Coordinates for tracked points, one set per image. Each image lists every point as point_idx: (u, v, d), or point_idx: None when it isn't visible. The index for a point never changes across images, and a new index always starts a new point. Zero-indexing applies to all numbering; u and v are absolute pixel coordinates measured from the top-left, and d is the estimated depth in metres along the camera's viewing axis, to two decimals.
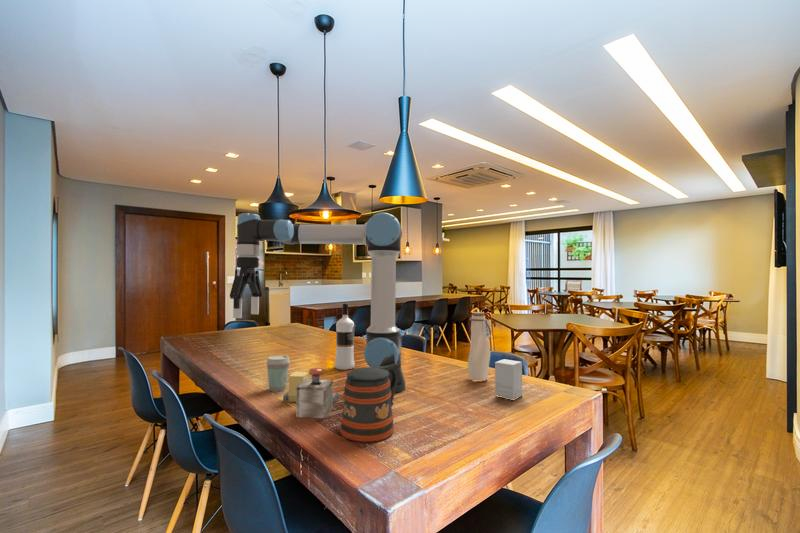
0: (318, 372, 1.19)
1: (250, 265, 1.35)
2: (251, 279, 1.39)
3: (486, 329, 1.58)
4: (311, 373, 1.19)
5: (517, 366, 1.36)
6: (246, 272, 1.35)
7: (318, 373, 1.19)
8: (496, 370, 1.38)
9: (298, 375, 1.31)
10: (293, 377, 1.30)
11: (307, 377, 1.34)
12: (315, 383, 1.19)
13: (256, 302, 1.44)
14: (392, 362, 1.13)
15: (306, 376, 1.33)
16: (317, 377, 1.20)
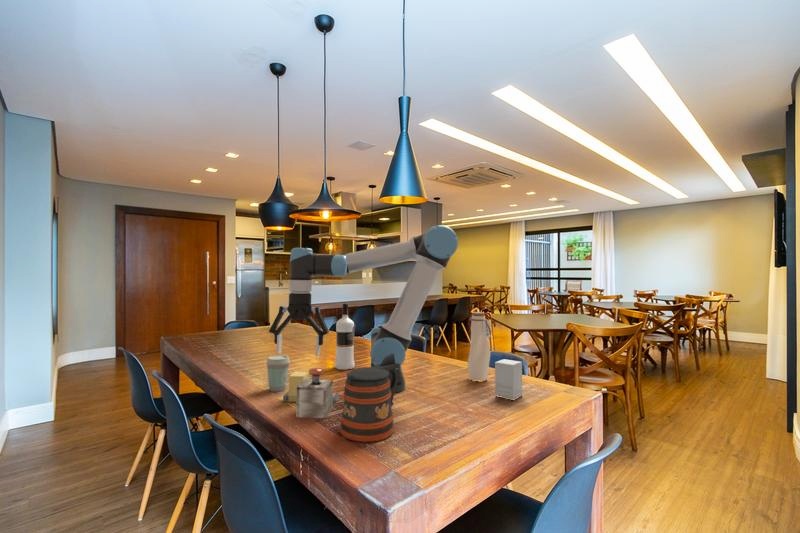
0: (318, 372, 1.19)
1: (289, 301, 1.31)
2: (301, 316, 1.32)
3: (486, 329, 1.58)
4: (311, 373, 1.19)
5: (517, 366, 1.36)
6: (289, 308, 1.32)
7: (318, 373, 1.19)
8: (496, 370, 1.38)
9: (298, 375, 1.31)
10: (293, 377, 1.30)
11: (307, 377, 1.34)
12: (315, 383, 1.19)
13: None
14: (392, 362, 1.13)
15: (306, 376, 1.33)
16: (317, 377, 1.20)
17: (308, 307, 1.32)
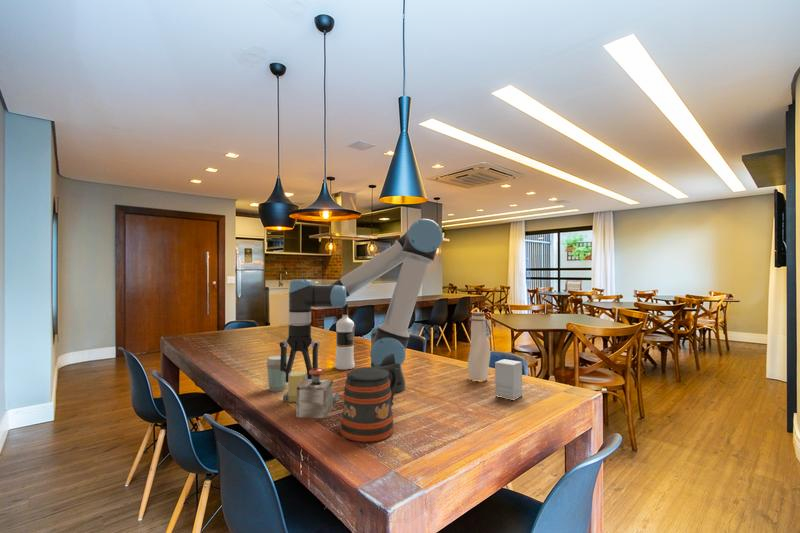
0: (318, 372, 1.19)
1: (289, 334, 1.31)
2: None
3: (486, 329, 1.58)
4: (311, 373, 1.19)
5: (517, 366, 1.36)
6: (289, 340, 1.32)
7: (318, 373, 1.19)
8: (496, 370, 1.38)
9: (298, 375, 1.31)
10: (293, 377, 1.30)
11: None
12: (315, 383, 1.19)
13: None
14: (392, 362, 1.13)
15: None
16: (317, 377, 1.20)
17: (308, 339, 1.32)
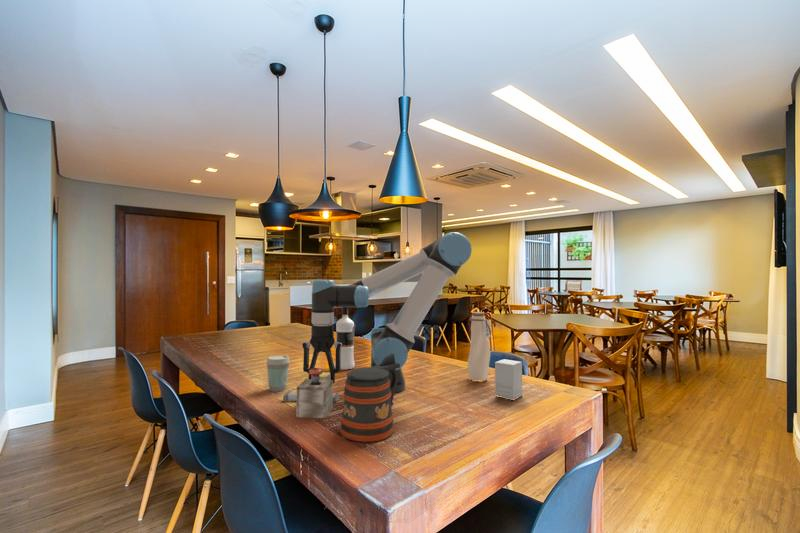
0: (318, 372, 1.19)
1: (312, 334, 1.30)
2: None
3: (486, 329, 1.58)
4: (311, 373, 1.19)
5: (517, 366, 1.36)
6: (312, 341, 1.31)
7: (318, 373, 1.19)
8: (496, 370, 1.38)
9: (321, 375, 1.30)
10: None
11: None
12: (315, 383, 1.19)
13: None
14: (392, 362, 1.13)
15: None
16: (317, 377, 1.20)
17: (331, 339, 1.31)
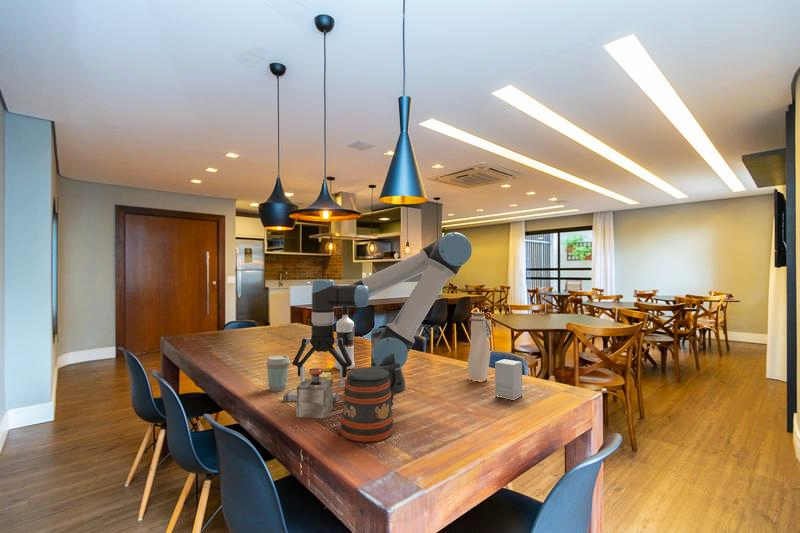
0: (318, 372, 1.19)
1: (312, 334, 1.30)
2: (324, 348, 1.31)
3: (486, 329, 1.58)
4: (311, 373, 1.19)
5: (517, 366, 1.36)
6: (312, 341, 1.31)
7: (318, 373, 1.19)
8: (496, 370, 1.38)
9: (321, 375, 1.30)
10: None
11: (330, 378, 1.33)
12: (315, 383, 1.19)
13: None
14: (392, 362, 1.13)
15: (329, 377, 1.32)
16: (317, 377, 1.20)
17: (331, 339, 1.31)
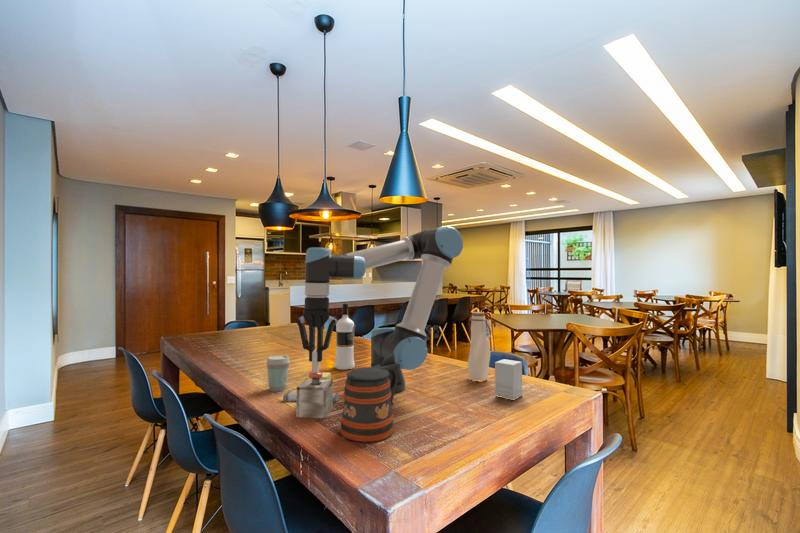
0: (318, 375, 1.19)
1: (305, 307, 1.19)
2: None
3: (486, 329, 1.58)
4: (311, 376, 1.19)
5: (517, 366, 1.36)
6: (305, 314, 1.20)
7: (318, 376, 1.19)
8: (496, 370, 1.38)
9: None
10: None
11: (330, 378, 1.33)
12: None
13: None
14: (392, 362, 1.13)
15: (329, 377, 1.32)
16: (317, 380, 1.20)
17: (326, 313, 1.20)
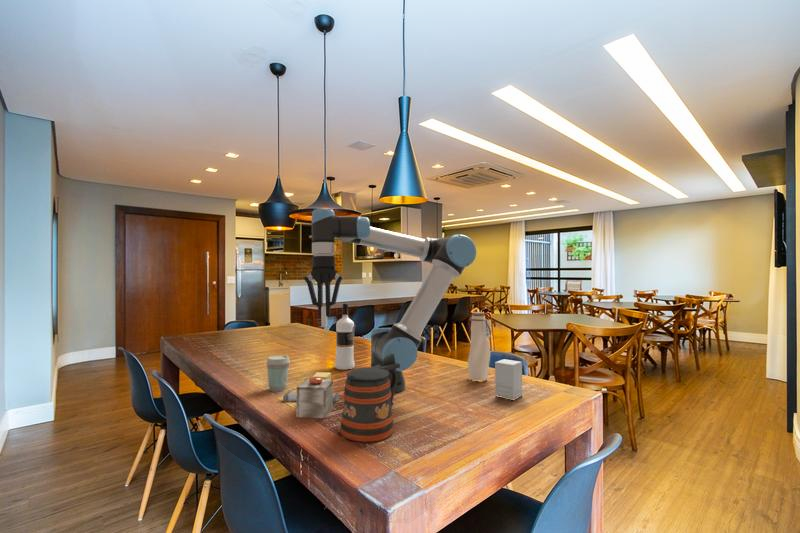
0: (318, 381, 1.19)
1: (313, 265, 1.26)
2: None
3: (486, 329, 1.58)
4: (311, 382, 1.19)
5: (517, 366, 1.36)
6: (313, 272, 1.28)
7: (318, 382, 1.19)
8: (496, 370, 1.38)
9: (321, 375, 1.30)
10: None
11: (330, 378, 1.33)
12: None
13: None
14: (392, 362, 1.13)
15: (329, 377, 1.32)
16: None
17: (333, 270, 1.28)
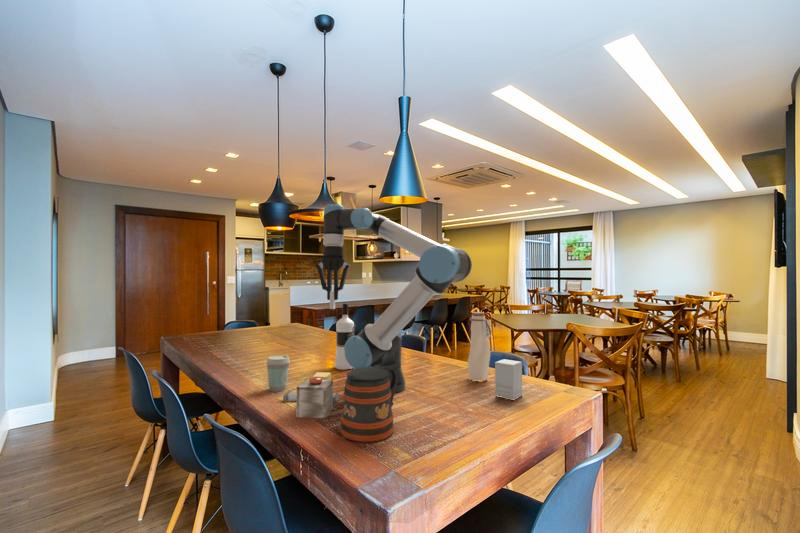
0: (318, 381, 1.19)
1: (324, 254, 1.43)
2: None
3: (486, 329, 1.58)
4: (311, 382, 1.19)
5: (517, 366, 1.36)
6: (324, 261, 1.44)
7: (318, 382, 1.19)
8: (496, 370, 1.38)
9: (321, 375, 1.30)
10: None
11: (330, 378, 1.33)
12: None
13: None
14: (392, 362, 1.13)
15: (329, 377, 1.32)
16: None
17: (341, 259, 1.44)
